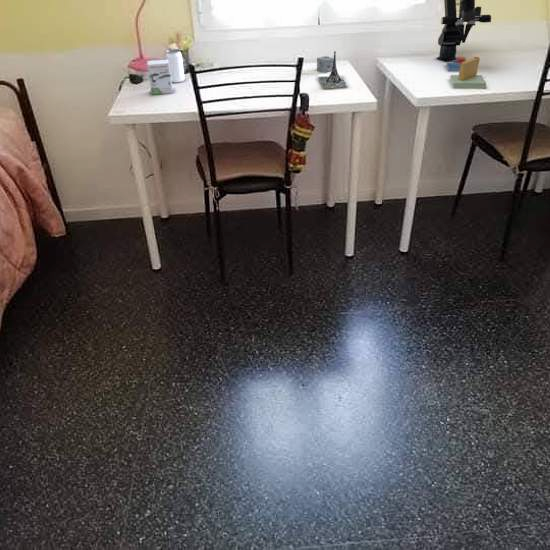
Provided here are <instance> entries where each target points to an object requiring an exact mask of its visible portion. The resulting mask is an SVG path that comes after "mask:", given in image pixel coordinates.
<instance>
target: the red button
mask: <svg viewBox="0 0 550 550" xmlns="http://www.w3.org/2000/svg"><path fill="white" fill-rule="evenodd" d="M456 58H457V59H456V62H458V63H461V62H464V61H465V60H467V59H466V57H464V56H458V57H456Z"/></svg>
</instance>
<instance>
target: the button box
mask: <svg viewBox="0 0 550 550" xmlns="http://www.w3.org/2000/svg"><path fill="white" fill-rule="evenodd" d="M467 60H468V59H465V61H467ZM460 65H461V63H458V62H456V60H452V61H451V62H446V64H445V66H446V69H447V71H448V72H459V71H460Z"/></svg>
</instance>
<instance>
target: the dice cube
mask: <svg viewBox="0 0 550 550" xmlns="http://www.w3.org/2000/svg"><path fill="white" fill-rule="evenodd" d="M333 61H334V57H332V56H327V55H324V56H319V57H316V71H319V72H322V73H327V72H331V71H332V68H333Z"/></svg>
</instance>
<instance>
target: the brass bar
mask: <svg viewBox="0 0 550 550" xmlns="http://www.w3.org/2000/svg"><path fill="white" fill-rule="evenodd" d="M466 60H467V61H464V62H461V65H460V71H458V75H459V77H458V80H461V81H463V80H465V79H468V78H470V77H473V76H475V75H478V69H479V64H480V57H478V56H474V57H472V58H469V59H466Z"/></svg>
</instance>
